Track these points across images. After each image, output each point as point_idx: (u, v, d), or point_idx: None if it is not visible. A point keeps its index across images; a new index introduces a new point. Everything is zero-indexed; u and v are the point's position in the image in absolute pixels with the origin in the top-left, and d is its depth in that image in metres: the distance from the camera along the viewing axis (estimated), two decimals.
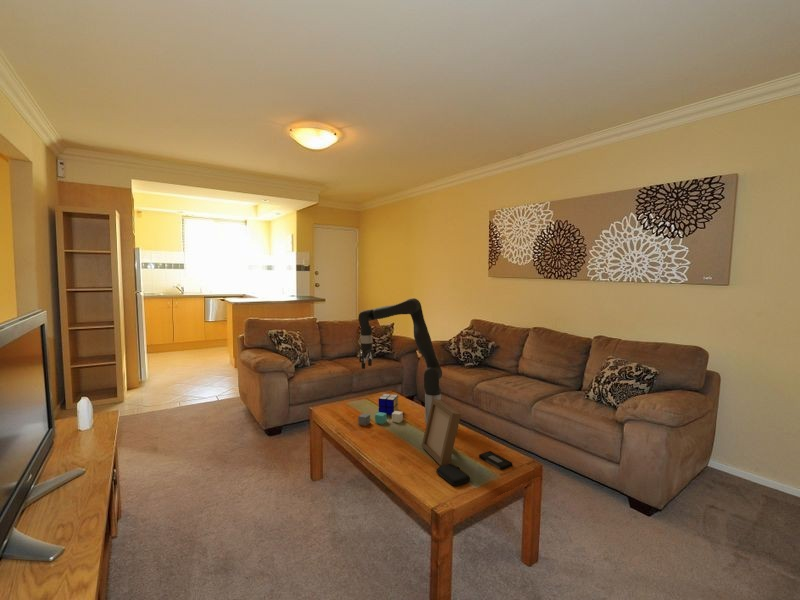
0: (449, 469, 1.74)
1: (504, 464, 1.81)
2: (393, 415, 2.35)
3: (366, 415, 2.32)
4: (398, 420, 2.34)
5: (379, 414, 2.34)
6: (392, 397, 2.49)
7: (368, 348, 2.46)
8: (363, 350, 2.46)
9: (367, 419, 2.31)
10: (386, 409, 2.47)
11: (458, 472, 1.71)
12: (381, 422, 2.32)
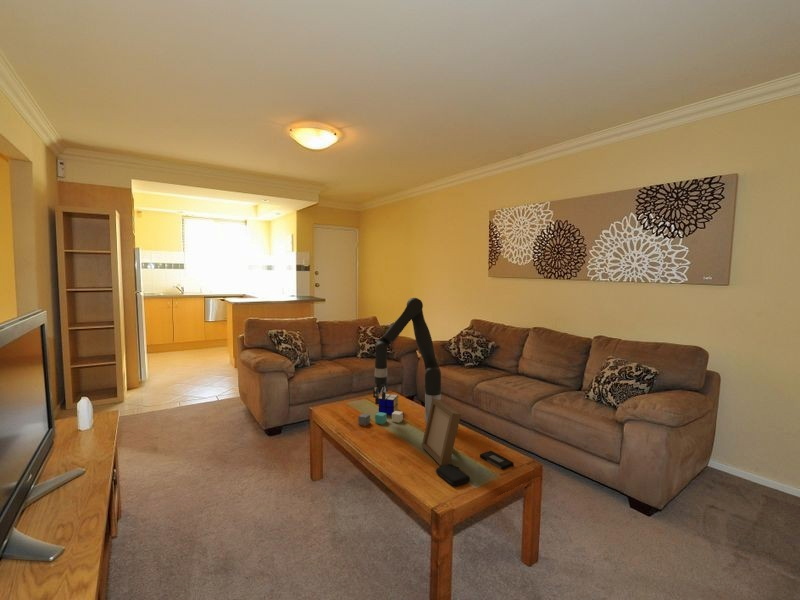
0: (448, 469, 1.74)
1: (505, 464, 1.81)
2: (393, 415, 2.35)
3: (366, 415, 2.32)
4: (398, 420, 2.34)
5: (379, 414, 2.34)
6: (392, 397, 2.49)
7: (383, 382, 2.30)
8: (377, 384, 2.30)
9: (367, 419, 2.31)
10: (386, 409, 2.47)
11: (457, 472, 1.71)
12: (381, 422, 2.32)
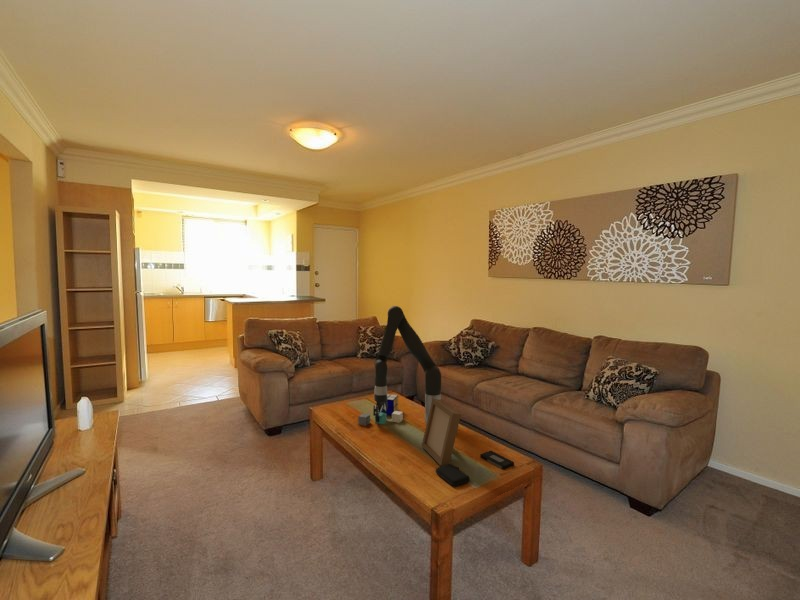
0: (448, 469, 1.74)
1: (506, 463, 1.82)
2: (393, 415, 2.35)
3: (366, 415, 2.32)
4: (398, 420, 2.34)
5: None
6: (392, 397, 2.49)
7: (383, 400, 2.31)
8: (377, 402, 2.31)
9: (367, 419, 2.31)
10: (386, 409, 2.47)
11: (457, 472, 1.71)
12: (381, 422, 2.32)
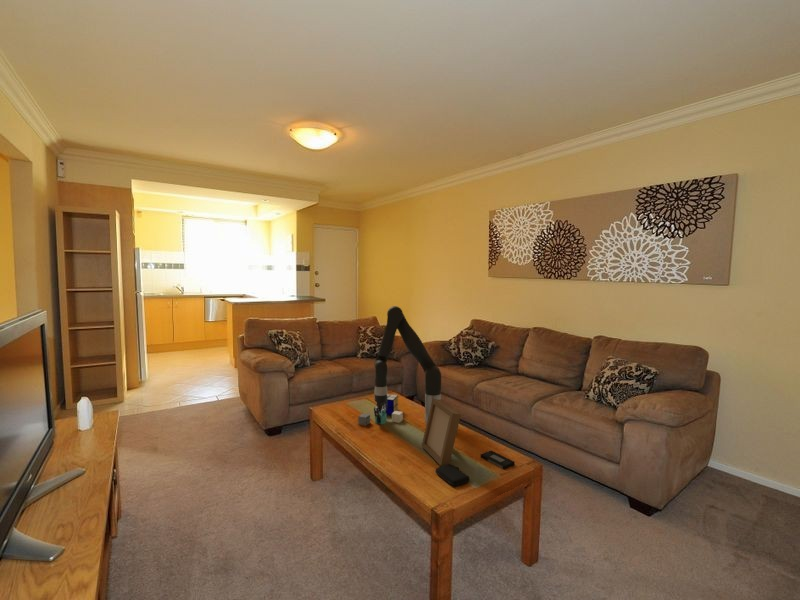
0: (448, 469, 1.74)
1: (506, 463, 1.82)
2: (393, 415, 2.35)
3: (366, 415, 2.32)
4: (398, 420, 2.34)
5: None
6: (392, 397, 2.49)
7: (383, 400, 2.30)
8: (377, 402, 2.31)
9: (367, 419, 2.31)
10: None
11: (457, 472, 1.71)
12: (381, 422, 2.32)
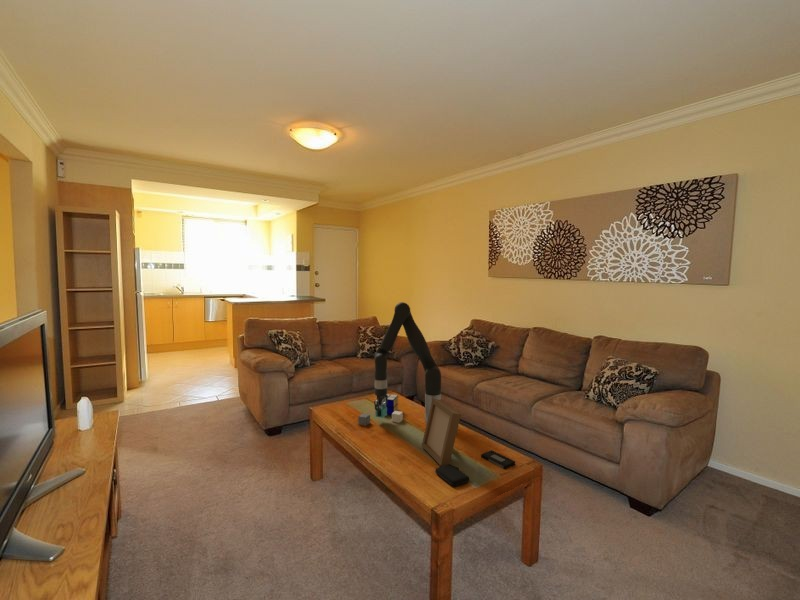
0: (448, 469, 1.74)
1: (507, 463, 1.82)
2: (393, 415, 2.35)
3: (366, 415, 2.32)
4: (398, 420, 2.34)
5: None
6: (392, 397, 2.49)
7: (383, 394, 2.30)
8: (378, 396, 2.30)
9: (367, 419, 2.31)
10: None
11: (457, 473, 1.71)
12: (381, 415, 2.31)
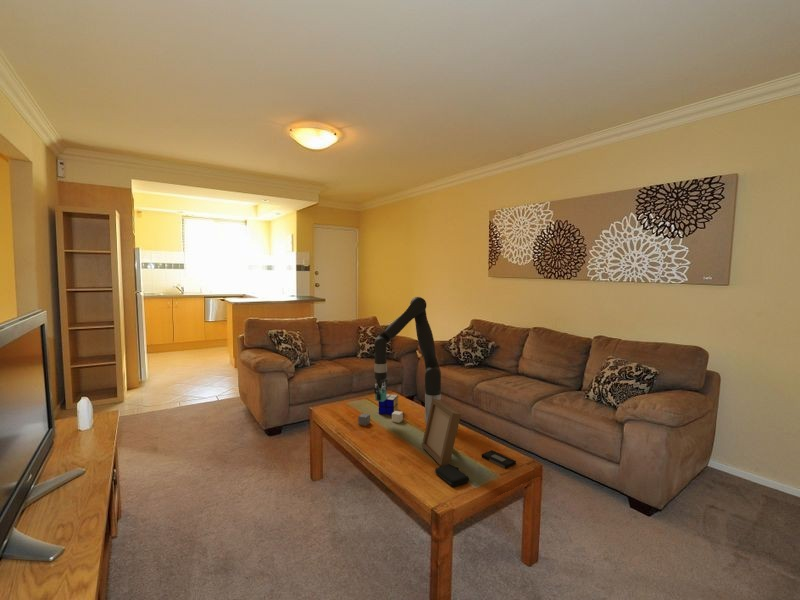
0: (447, 469, 1.74)
1: (508, 462, 1.82)
2: (393, 415, 2.35)
3: (366, 415, 2.32)
4: (398, 420, 2.34)
5: None
6: (392, 397, 2.49)
7: (383, 377, 2.29)
8: (377, 380, 2.30)
9: (367, 419, 2.31)
10: (386, 409, 2.47)
11: (457, 473, 1.71)
12: (381, 399, 2.31)
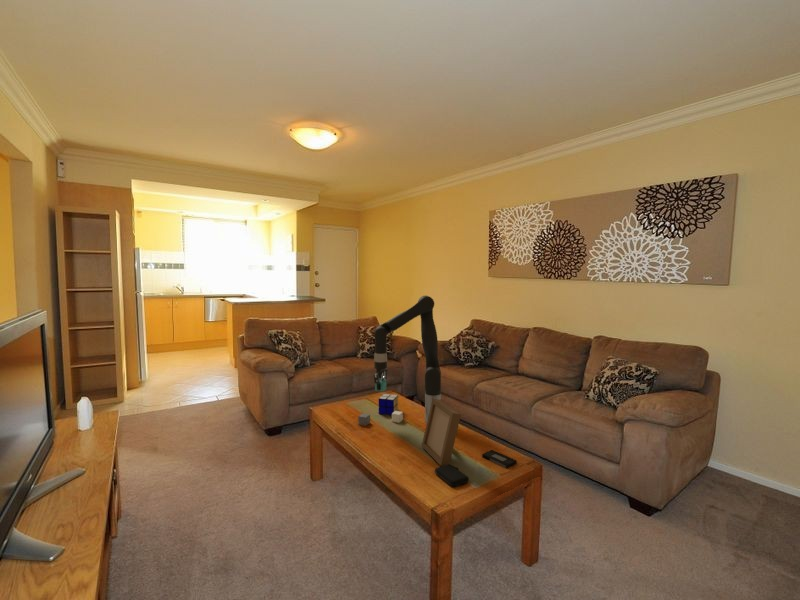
0: (447, 469, 1.74)
1: (509, 462, 1.83)
2: (393, 415, 2.35)
3: (366, 415, 2.32)
4: (398, 420, 2.34)
5: None
6: (392, 397, 2.49)
7: (383, 367, 2.29)
8: (377, 369, 2.29)
9: (367, 419, 2.31)
10: (386, 409, 2.47)
11: (456, 473, 1.71)
12: (381, 389, 2.30)
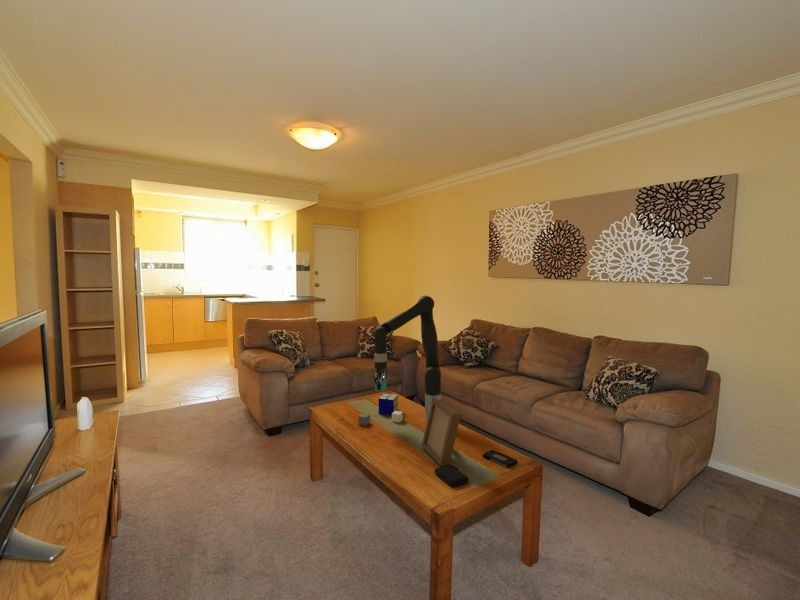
0: (447, 470, 1.73)
1: (510, 462, 1.83)
2: (393, 415, 2.35)
3: (366, 415, 2.32)
4: (398, 420, 2.34)
5: None
6: (392, 397, 2.49)
7: (383, 367, 2.29)
8: (377, 369, 2.29)
9: (367, 419, 2.31)
10: (386, 409, 2.47)
11: (456, 473, 1.71)
12: (381, 389, 2.30)
